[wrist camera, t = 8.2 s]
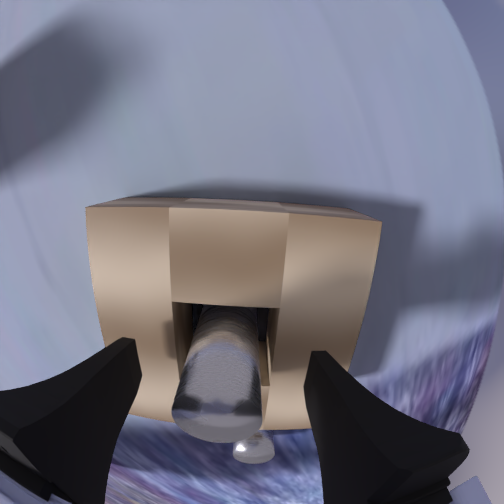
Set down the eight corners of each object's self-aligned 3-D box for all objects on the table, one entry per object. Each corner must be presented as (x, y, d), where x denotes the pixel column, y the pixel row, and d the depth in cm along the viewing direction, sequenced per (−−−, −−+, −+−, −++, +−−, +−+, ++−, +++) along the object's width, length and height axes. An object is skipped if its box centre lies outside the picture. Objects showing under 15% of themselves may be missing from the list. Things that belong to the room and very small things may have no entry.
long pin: (252, 334, 16) (255, 445, 8) (202, 327, 16) (173, 435, 8) (260, 288, 15) (270, 395, 7) (206, 281, 15) (169, 382, 7)
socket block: (315, 384, 17) (327, 426, 13) (144, 373, 17) (126, 413, 13) (348, 208, 14) (382, 221, 10) (124, 197, 13) (85, 207, 10)
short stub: (270, 436, 19) (272, 463, 16) (234, 435, 19) (232, 463, 16) (274, 415, 18) (276, 445, 15) (234, 414, 18) (233, 444, 15)
